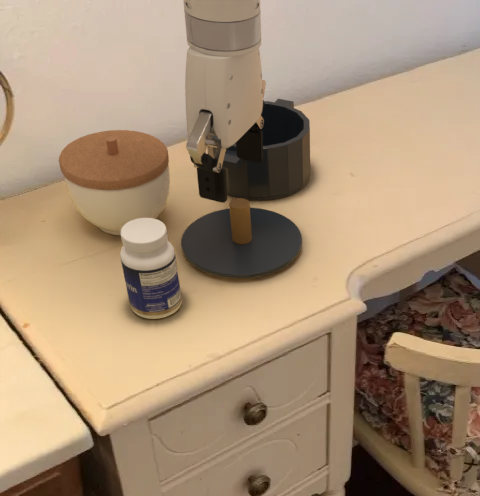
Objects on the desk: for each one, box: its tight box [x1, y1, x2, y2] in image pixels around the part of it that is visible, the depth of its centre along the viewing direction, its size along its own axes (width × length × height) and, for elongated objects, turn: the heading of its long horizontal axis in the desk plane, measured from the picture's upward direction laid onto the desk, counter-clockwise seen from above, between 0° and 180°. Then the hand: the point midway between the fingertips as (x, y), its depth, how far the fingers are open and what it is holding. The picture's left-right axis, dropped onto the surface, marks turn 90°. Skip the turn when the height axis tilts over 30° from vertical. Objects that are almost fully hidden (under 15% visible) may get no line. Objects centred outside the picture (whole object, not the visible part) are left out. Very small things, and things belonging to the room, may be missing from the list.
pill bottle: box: [119, 218, 183, 320], centre depth 90 cm, size 6×6×10 cm
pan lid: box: [180, 197, 303, 279], centre depth 100 cm, size 15×15×6 cm
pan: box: [206, 98, 311, 201], centre depth 113 cm, size 14×19×8 cm
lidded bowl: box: [58, 129, 171, 236], centre depth 102 cm, size 13×13×11 cm
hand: (232, 178), depth 96 cm, fingers open, 9 cm apart
